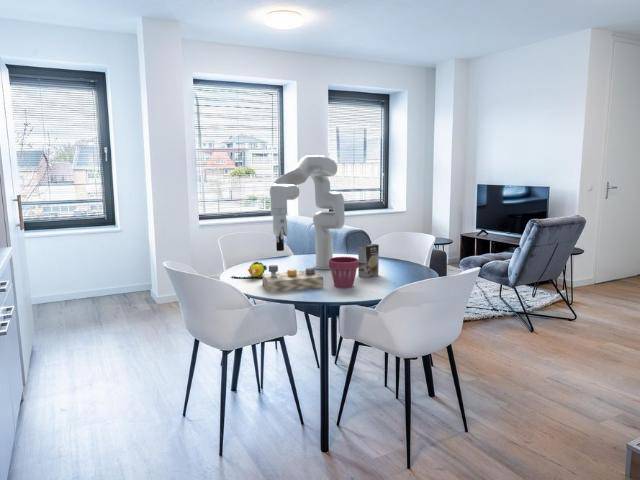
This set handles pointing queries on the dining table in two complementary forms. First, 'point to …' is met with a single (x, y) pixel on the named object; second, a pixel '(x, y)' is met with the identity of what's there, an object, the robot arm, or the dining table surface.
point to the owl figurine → (256, 270)
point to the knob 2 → (310, 271)
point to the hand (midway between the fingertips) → (280, 250)
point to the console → (292, 281)
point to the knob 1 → (273, 270)
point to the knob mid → (292, 273)
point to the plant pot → (343, 271)
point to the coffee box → (368, 260)
